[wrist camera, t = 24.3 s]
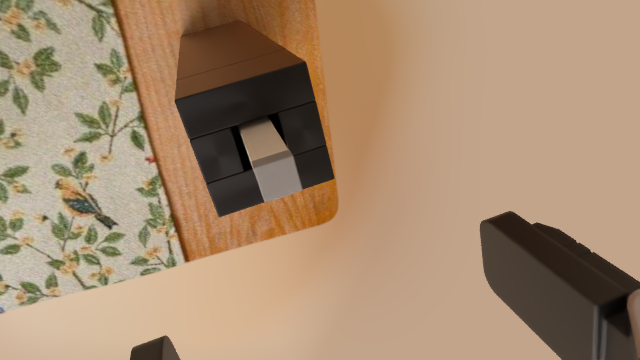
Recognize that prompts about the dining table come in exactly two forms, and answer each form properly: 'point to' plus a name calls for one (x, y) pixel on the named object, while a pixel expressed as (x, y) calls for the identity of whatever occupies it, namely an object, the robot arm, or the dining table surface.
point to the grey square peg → (270, 159)
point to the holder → (246, 109)
